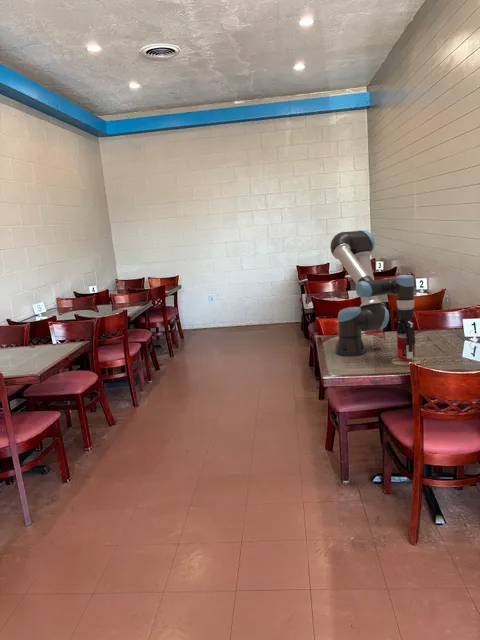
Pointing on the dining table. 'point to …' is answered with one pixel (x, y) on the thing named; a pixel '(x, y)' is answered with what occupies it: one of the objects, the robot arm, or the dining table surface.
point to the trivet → (405, 361)
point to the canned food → (403, 347)
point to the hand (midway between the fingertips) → (405, 356)
